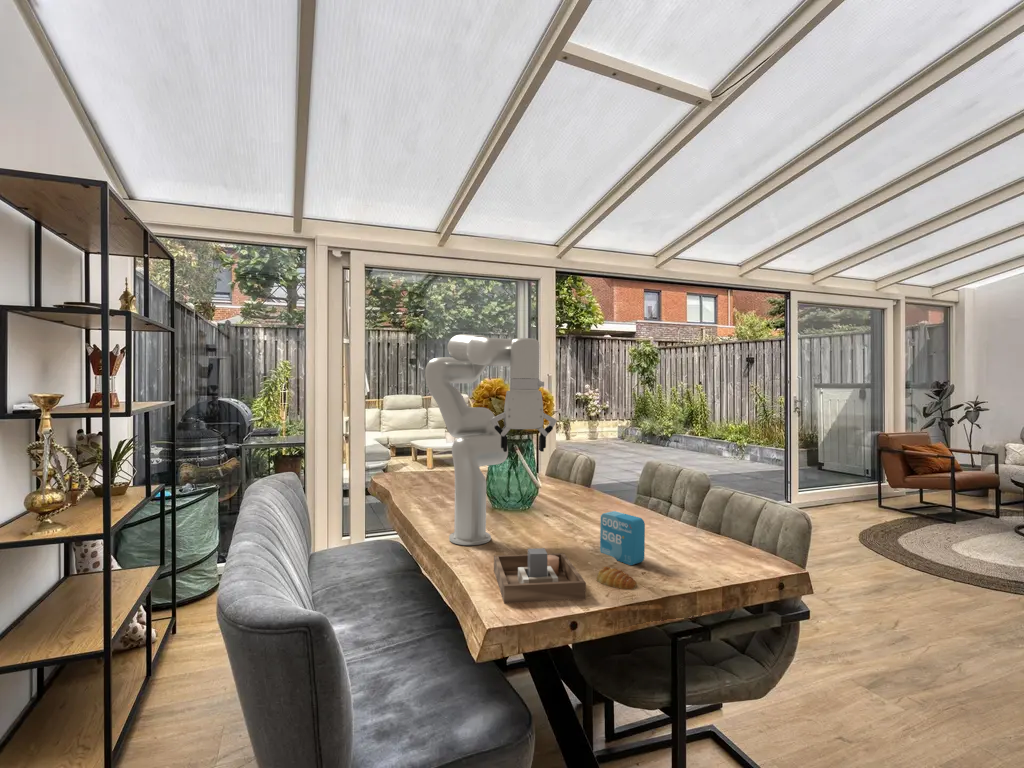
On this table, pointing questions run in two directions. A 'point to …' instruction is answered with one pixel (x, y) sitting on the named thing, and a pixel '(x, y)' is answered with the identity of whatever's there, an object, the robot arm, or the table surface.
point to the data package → (622, 537)
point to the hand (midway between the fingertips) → (523, 451)
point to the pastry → (615, 578)
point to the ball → (553, 563)
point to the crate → (537, 581)
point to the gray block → (537, 562)
